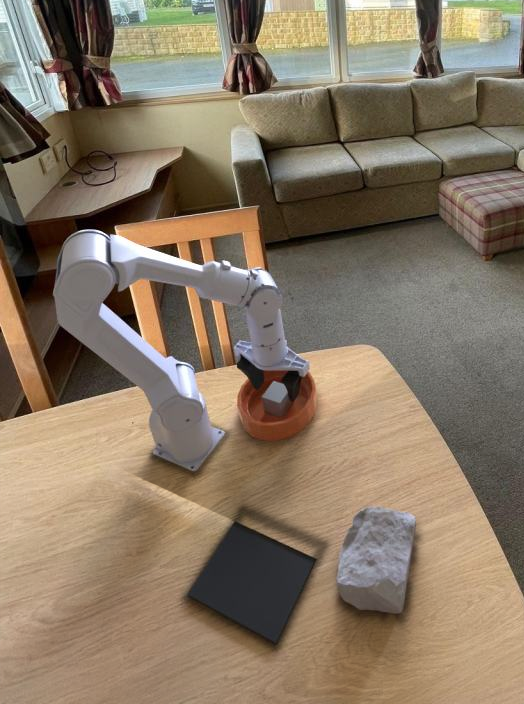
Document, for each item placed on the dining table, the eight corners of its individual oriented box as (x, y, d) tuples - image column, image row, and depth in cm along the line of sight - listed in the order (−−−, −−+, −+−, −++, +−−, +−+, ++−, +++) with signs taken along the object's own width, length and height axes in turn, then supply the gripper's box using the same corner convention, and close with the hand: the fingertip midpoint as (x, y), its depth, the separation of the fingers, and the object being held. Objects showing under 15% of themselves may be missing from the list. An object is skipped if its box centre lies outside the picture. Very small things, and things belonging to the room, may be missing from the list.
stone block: (335, 611, 64) (408, 620, 61) (326, 588, 63) (400, 597, 60) (358, 521, 75) (421, 525, 72) (351, 500, 73) (415, 504, 70)
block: (264, 412, 90) (261, 397, 88) (276, 395, 94) (273, 380, 92) (282, 418, 89) (279, 403, 87) (294, 401, 92) (291, 386, 90)
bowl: (224, 428, 88) (220, 411, 86) (269, 372, 100) (266, 355, 98) (292, 453, 83) (289, 436, 81) (330, 391, 95) (328, 374, 93)
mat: (187, 596, 65) (187, 594, 65) (242, 510, 75) (242, 508, 75) (276, 644, 60) (276, 643, 60) (322, 546, 70) (322, 544, 70)
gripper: (315, 329, 84) (321, 386, 90) (246, 311, 89) (257, 365, 95) (293, 358, 78) (302, 416, 84) (221, 336, 83) (234, 392, 89)
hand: (276, 391), depth 89 cm, fingers open, 7 cm apart
